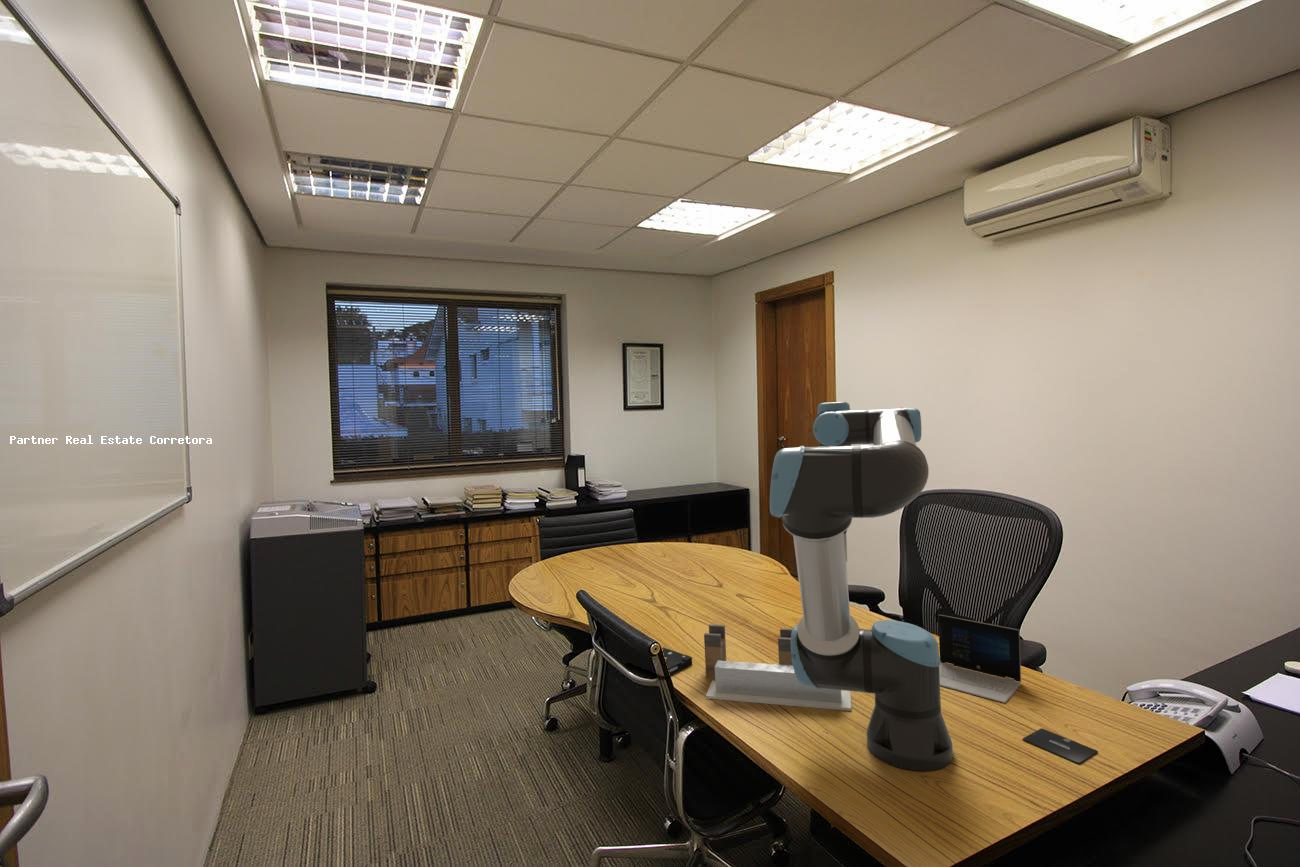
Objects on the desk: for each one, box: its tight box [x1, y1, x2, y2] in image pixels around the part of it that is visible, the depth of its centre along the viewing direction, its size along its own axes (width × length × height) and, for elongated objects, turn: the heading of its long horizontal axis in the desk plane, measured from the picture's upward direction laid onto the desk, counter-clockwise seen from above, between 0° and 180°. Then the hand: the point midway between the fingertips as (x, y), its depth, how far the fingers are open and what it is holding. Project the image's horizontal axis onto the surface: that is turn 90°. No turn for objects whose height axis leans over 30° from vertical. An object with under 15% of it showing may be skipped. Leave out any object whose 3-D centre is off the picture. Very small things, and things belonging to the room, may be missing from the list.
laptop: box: [937, 614, 1022, 704], centre depth 143 cm, size 18×12×13 cm
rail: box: [714, 660, 842, 703], centre depth 141 cm, size 4×28×6 cm, turn 74°
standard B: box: [703, 624, 727, 680], centre depth 155 cm, size 7×4×11 cm, turn 164°
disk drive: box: [661, 646, 693, 676], centre depth 162 cm, size 10×3×15 cm
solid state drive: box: [1022, 728, 1099, 765], centre depth 116 cm, size 7×10×1 cm
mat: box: [705, 680, 852, 712], centre depth 141 cm, size 8×32×1 cm, turn 74°
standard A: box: [777, 627, 793, 666], centre depth 150 cm, size 7×4×11 cm, turn 164°
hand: (839, 554), depth 147 cm, fingers open, 13 cm apart
